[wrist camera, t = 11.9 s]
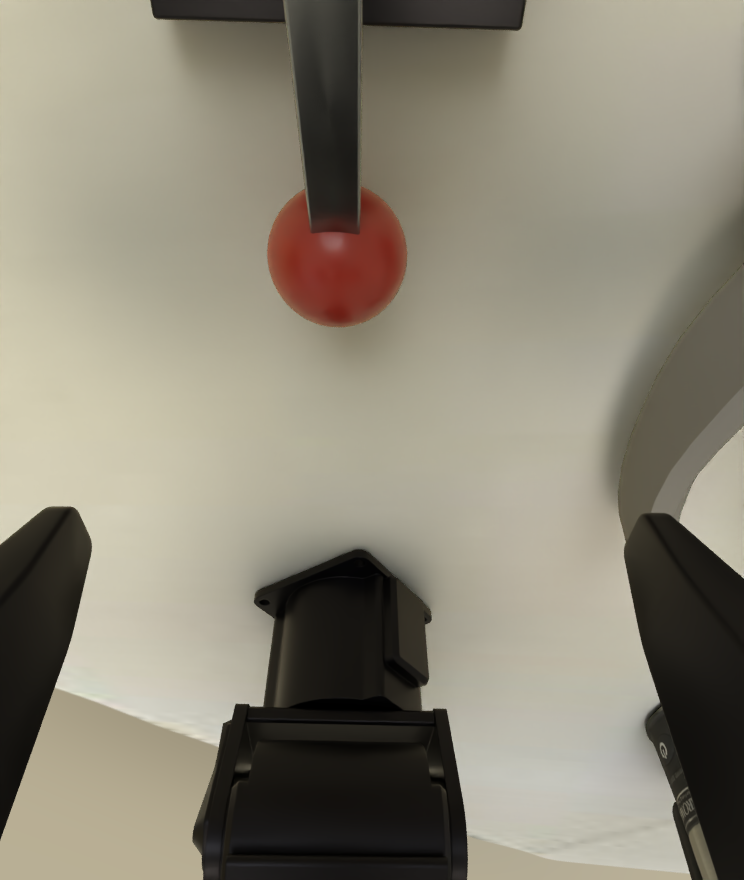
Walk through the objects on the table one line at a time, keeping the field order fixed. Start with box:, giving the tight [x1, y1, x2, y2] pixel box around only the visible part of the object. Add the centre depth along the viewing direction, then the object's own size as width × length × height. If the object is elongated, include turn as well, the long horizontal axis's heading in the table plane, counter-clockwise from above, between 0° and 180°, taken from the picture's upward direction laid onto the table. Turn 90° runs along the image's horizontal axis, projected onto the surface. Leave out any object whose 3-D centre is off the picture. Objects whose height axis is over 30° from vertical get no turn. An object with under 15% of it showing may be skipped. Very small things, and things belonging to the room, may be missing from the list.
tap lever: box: [267, 0, 407, 327], centre depth 10 cm, size 14×3×3 cm
